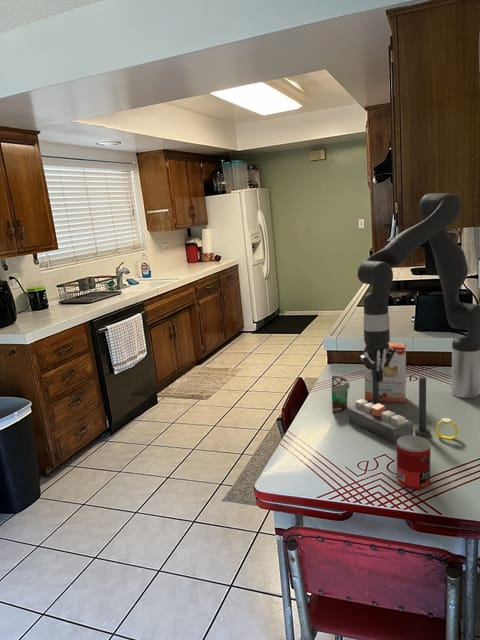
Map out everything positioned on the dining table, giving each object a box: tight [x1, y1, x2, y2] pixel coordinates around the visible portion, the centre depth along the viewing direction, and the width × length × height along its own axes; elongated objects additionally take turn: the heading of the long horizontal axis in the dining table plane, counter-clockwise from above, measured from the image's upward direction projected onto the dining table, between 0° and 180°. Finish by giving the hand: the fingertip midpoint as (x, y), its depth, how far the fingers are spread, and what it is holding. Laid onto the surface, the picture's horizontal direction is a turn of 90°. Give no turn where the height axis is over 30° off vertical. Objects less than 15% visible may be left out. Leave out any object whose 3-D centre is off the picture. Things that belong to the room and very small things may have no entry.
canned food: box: [396, 435, 431, 491], centre depth 121 cm, size 8×8×11 cm
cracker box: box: [363, 342, 407, 404], centre depth 173 cm, size 14×6×21 cm, turn 68°
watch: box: [434, 417, 459, 440], centre depth 142 cm, size 6×3×6 cm, turn 59°
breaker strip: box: [347, 398, 414, 446], centre depth 151 cm, size 8×20×7 cm, turn 28°
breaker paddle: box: [371, 402, 386, 417], centre depth 150 cm, size 3×3×2 cm
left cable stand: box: [372, 370, 380, 405], centre depth 162 cm, size 4×4×18 cm
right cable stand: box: [414, 376, 431, 438], centre depth 145 cm, size 4×4×18 cm
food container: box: [330, 375, 351, 414], centre depth 170 cm, size 12×6×10 cm, turn 168°
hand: (378, 381), depth 148 cm, fingers closed
